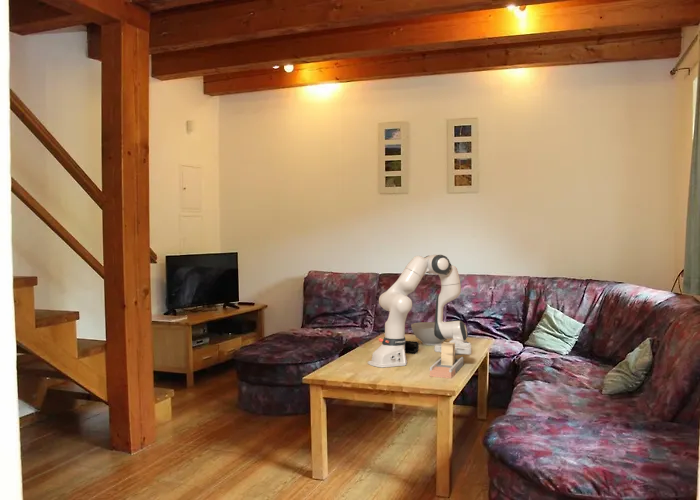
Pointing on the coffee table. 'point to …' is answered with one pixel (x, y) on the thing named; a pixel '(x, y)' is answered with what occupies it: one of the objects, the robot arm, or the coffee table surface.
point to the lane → (445, 369)
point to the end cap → (411, 347)
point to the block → (447, 353)
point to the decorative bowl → (426, 333)
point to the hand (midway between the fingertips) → (450, 351)
